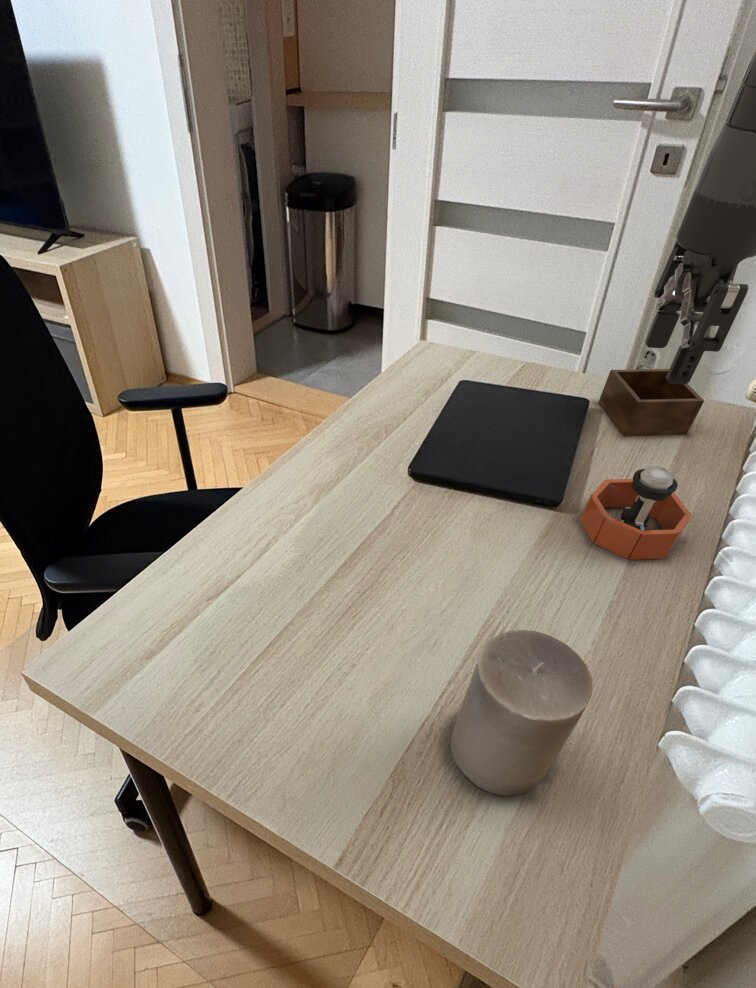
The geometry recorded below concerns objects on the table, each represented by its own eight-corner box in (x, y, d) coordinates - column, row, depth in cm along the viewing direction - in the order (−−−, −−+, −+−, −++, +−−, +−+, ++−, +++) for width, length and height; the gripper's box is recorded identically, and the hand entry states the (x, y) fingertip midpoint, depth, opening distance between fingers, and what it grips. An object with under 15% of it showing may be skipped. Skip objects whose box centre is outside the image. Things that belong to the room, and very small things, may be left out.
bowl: (650, 502, 91) (663, 477, 88) (689, 557, 83) (705, 532, 80) (571, 505, 91) (581, 479, 87) (602, 560, 82) (615, 535, 79)
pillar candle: (543, 721, 65) (593, 628, 54) (549, 807, 59) (606, 721, 48) (450, 704, 66) (481, 611, 56) (446, 787, 60) (479, 699, 49)
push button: (605, 513, 89) (632, 454, 82) (644, 518, 89) (675, 459, 81) (610, 542, 85) (640, 483, 78) (651, 548, 84) (684, 488, 77)
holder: (657, 401, 112) (672, 368, 107) (686, 434, 104) (704, 400, 100) (597, 403, 111) (610, 369, 107) (623, 436, 104) (638, 402, 99)
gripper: (822, 214, 50) (722, 399, 62) (756, 171, 60) (681, 337, 71) (725, 211, 51) (645, 394, 62) (676, 168, 60) (614, 333, 72)
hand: (664, 363), depth 67 cm, fingers open, 8 cm apart
